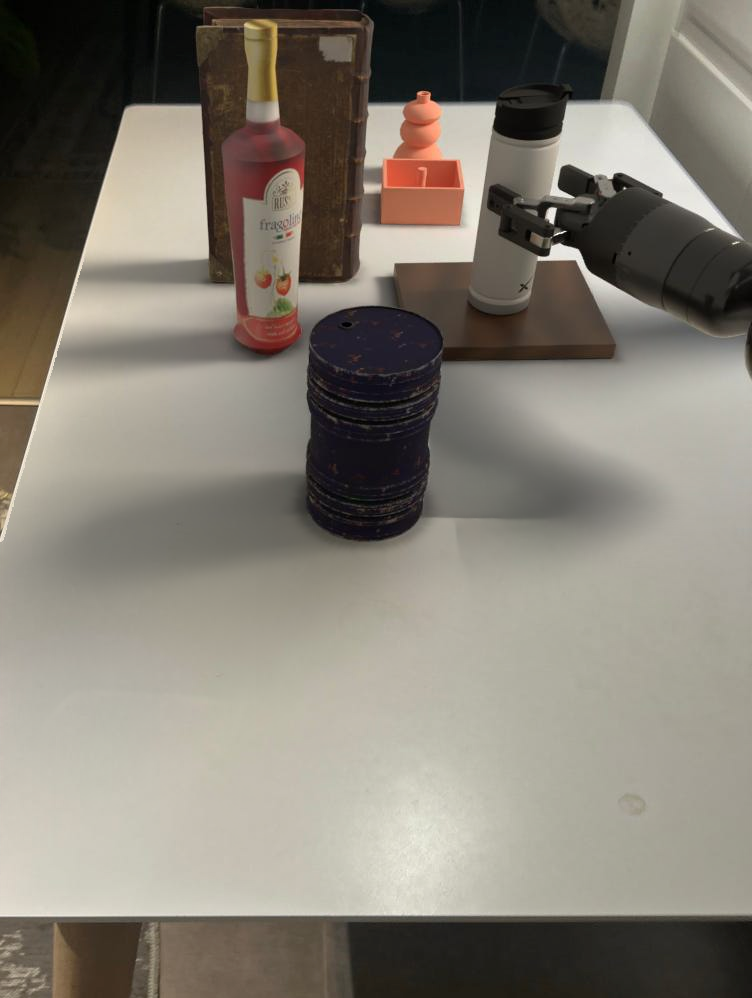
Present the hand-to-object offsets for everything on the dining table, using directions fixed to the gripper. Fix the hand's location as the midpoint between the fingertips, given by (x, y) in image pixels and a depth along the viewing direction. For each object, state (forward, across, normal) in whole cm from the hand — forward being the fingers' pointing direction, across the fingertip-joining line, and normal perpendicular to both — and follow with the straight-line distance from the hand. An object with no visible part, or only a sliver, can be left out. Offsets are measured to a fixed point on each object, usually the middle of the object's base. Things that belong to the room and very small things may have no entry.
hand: (526, 185), depth 89 cm
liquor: (+9, +23, +14) cm, 28 cm away
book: (+21, +14, +14) cm, 28 cm away
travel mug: (+1, 0, +12) cm, 12 cm away
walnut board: (+1, 0, +14) cm, 14 cm away
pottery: (+30, -11, +14) cm, 35 cm away
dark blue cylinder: (-18, +29, +14) cm, 37 cm away
